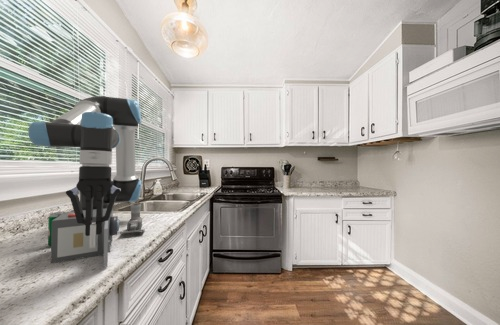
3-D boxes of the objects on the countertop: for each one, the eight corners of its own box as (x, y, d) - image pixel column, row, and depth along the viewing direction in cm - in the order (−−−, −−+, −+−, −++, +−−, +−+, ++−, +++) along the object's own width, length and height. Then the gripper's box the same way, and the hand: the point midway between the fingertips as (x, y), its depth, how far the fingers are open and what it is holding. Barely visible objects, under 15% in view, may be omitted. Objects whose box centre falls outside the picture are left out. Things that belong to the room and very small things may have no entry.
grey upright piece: (146, 202, 99) (143, 208, 85) (146, 226, 99) (143, 236, 85) (126, 203, 96) (120, 210, 82) (126, 228, 96) (119, 239, 82)
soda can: (51, 243, 77) (52, 212, 77) (68, 241, 79) (69, 210, 79) (44, 248, 72) (45, 215, 73) (62, 245, 74) (63, 213, 75)
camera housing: (66, 247, 73) (67, 209, 73) (119, 239, 81) (120, 205, 81) (50, 263, 61) (51, 218, 61) (115, 252, 68) (115, 212, 69)
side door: (100, 268, 57) (101, 229, 57) (102, 253, 66) (102, 220, 67) (109, 266, 58) (110, 228, 58) (109, 252, 68) (110, 219, 68)
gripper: (62, 165, 52) (59, 255, 52) (120, 166, 58) (118, 246, 58) (71, 165, 59) (68, 245, 58) (123, 165, 65) (120, 238, 64)
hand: (93, 245), depth 58 cm, fingers closed
